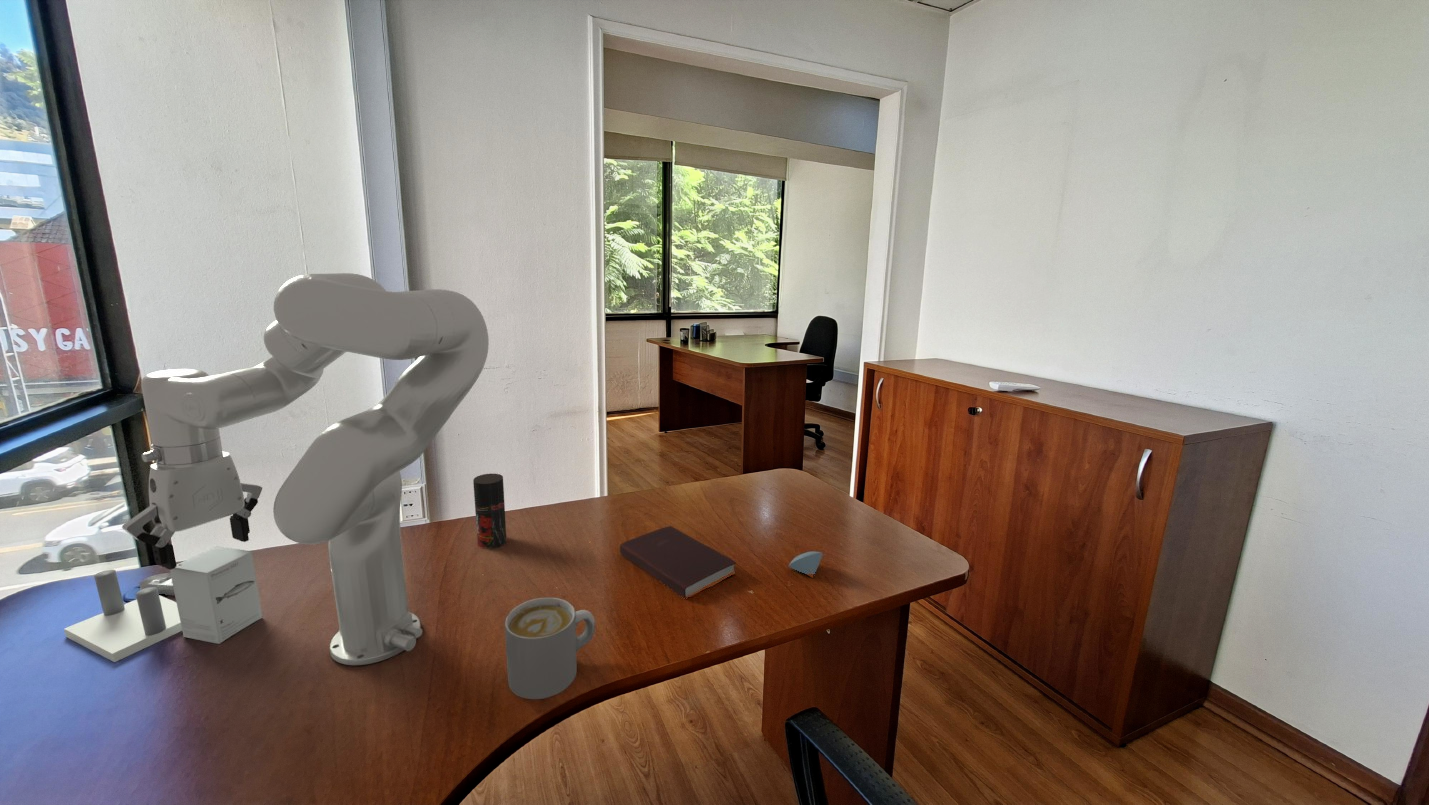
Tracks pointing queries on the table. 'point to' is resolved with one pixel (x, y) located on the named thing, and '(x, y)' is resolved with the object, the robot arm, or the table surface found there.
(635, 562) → the book
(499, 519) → the deodorant
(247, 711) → the table surface
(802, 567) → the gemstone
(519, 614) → the coffee mug
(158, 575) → the bar
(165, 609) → the cradle
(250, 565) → the supplement box
